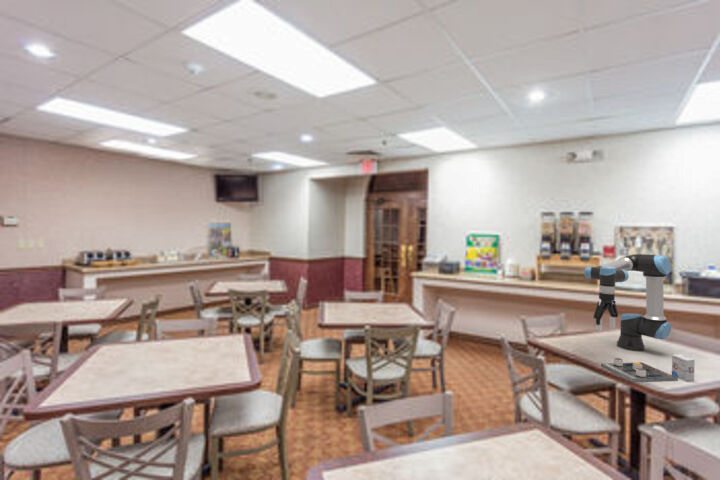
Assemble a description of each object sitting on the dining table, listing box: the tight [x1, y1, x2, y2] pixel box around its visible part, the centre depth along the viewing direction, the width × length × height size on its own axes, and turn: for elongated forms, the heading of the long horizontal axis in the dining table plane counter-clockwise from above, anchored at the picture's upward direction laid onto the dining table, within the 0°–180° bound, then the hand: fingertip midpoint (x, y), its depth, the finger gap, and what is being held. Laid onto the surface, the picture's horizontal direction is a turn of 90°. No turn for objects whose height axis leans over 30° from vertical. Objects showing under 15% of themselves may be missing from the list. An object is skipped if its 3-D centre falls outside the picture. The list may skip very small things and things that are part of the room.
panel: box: [600, 362, 679, 383], centre depth 199 cm, size 26×22×2 cm
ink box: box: [671, 353, 695, 382], centre depth 193 cm, size 9×5×12 cm, turn 5°
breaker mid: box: [632, 361, 642, 370], centre depth 199 cm, size 3×3×4 cm
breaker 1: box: [613, 357, 624, 366], centre depth 206 cm, size 3×3×4 cm
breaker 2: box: [636, 368, 646, 377], centre depth 191 cm, size 3×3×4 cm
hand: (605, 329), depth 207 cm, fingers open, 13 cm apart
